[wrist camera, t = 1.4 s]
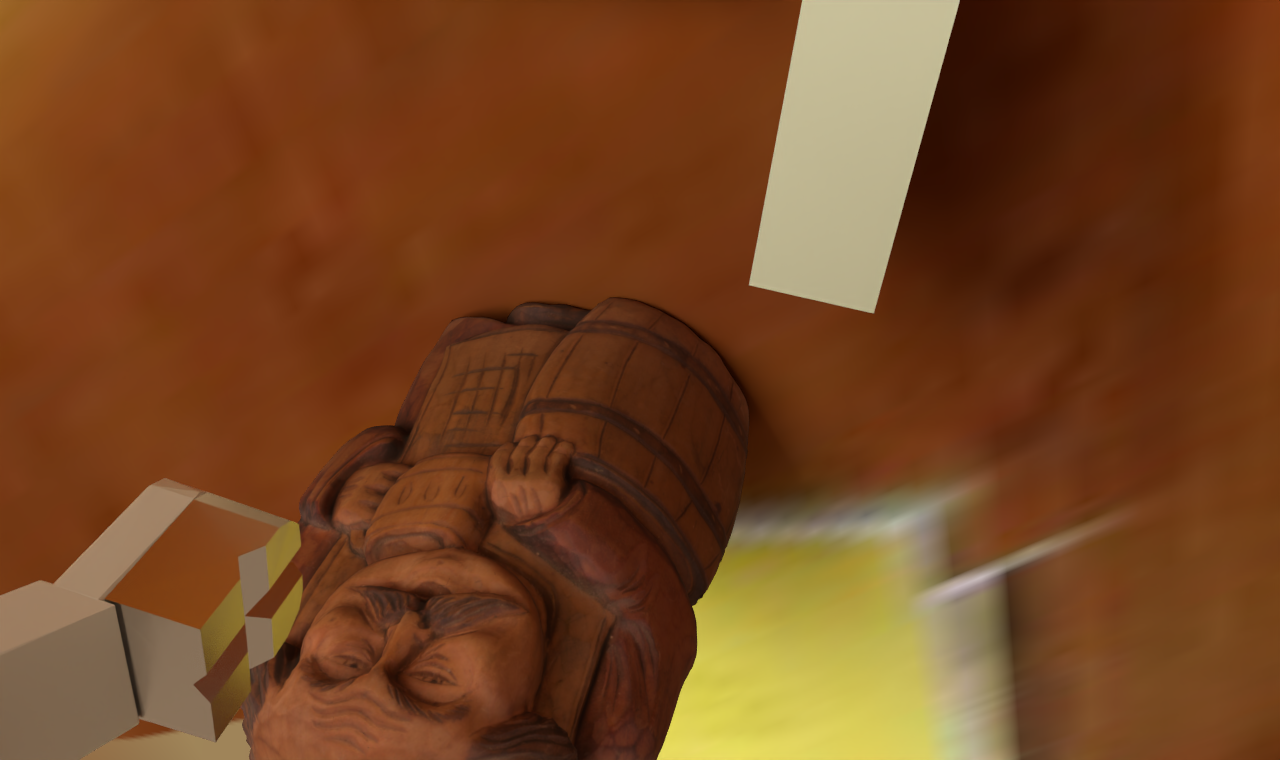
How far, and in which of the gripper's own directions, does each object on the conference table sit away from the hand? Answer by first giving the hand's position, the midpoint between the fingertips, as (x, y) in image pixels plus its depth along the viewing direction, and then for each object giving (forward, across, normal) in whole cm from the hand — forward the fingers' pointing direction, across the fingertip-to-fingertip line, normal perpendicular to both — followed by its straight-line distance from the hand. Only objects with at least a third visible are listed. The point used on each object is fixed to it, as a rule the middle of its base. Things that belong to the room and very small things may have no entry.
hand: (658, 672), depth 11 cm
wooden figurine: (+22, +5, +13) cm, 26 cm away
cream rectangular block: (+22, -1, -1) cm, 22 cm away
